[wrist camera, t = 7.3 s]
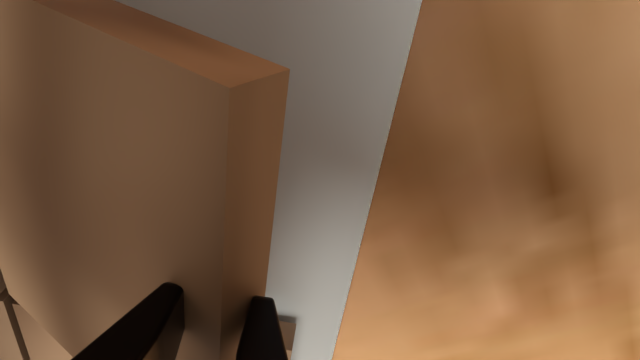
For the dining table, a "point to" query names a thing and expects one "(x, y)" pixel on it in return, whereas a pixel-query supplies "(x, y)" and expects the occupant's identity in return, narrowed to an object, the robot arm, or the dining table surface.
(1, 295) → the laid strip
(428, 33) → the dining table surface
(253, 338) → the robot arm
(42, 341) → the plank
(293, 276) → the underlay
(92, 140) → the plank
